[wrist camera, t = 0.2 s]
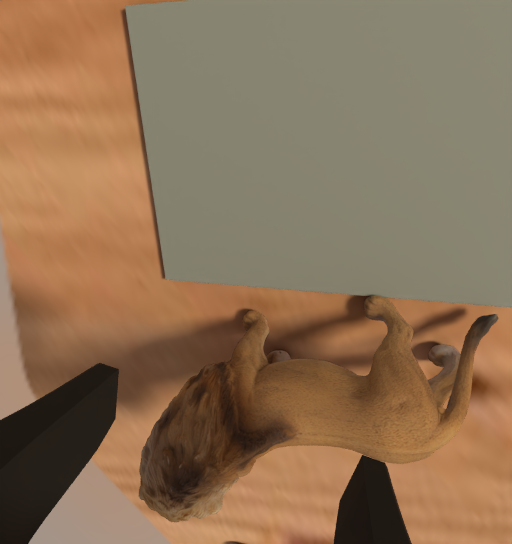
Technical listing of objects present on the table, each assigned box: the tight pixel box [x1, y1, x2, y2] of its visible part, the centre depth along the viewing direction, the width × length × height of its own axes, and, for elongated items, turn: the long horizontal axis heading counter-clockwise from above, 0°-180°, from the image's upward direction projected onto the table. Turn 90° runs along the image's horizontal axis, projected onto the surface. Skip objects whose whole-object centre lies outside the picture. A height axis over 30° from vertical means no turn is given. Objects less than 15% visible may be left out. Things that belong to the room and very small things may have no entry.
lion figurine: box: [139, 295, 498, 522], centre depth 18 cm, size 15×5×9 cm, turn 112°
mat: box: [125, 0, 512, 308], centre depth 18 cm, size 12×16×1 cm
